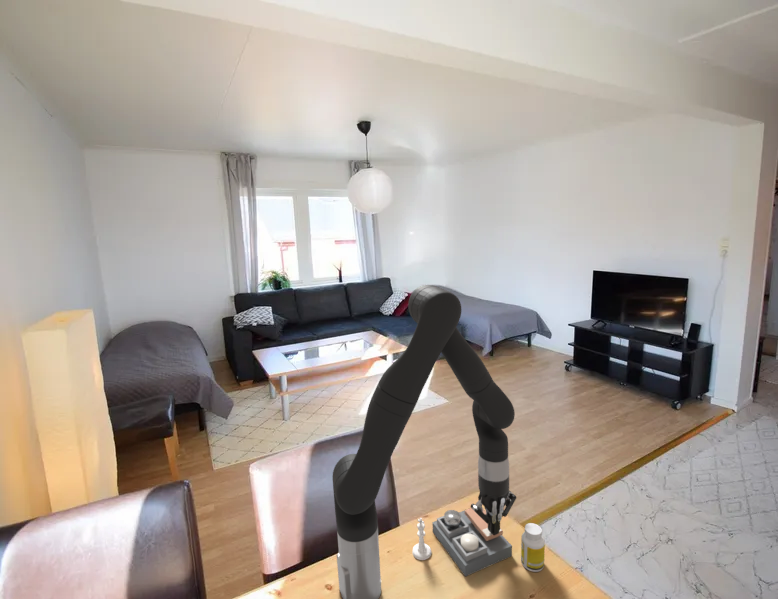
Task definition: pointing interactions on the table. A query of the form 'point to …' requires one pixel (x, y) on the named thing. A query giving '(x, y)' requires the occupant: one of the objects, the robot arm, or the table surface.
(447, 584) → the table surface
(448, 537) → the panel
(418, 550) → the chess piece
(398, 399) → the robot arm
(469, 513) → the rocker
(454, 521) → the metal button
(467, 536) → the white button
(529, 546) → the supplement bottle
